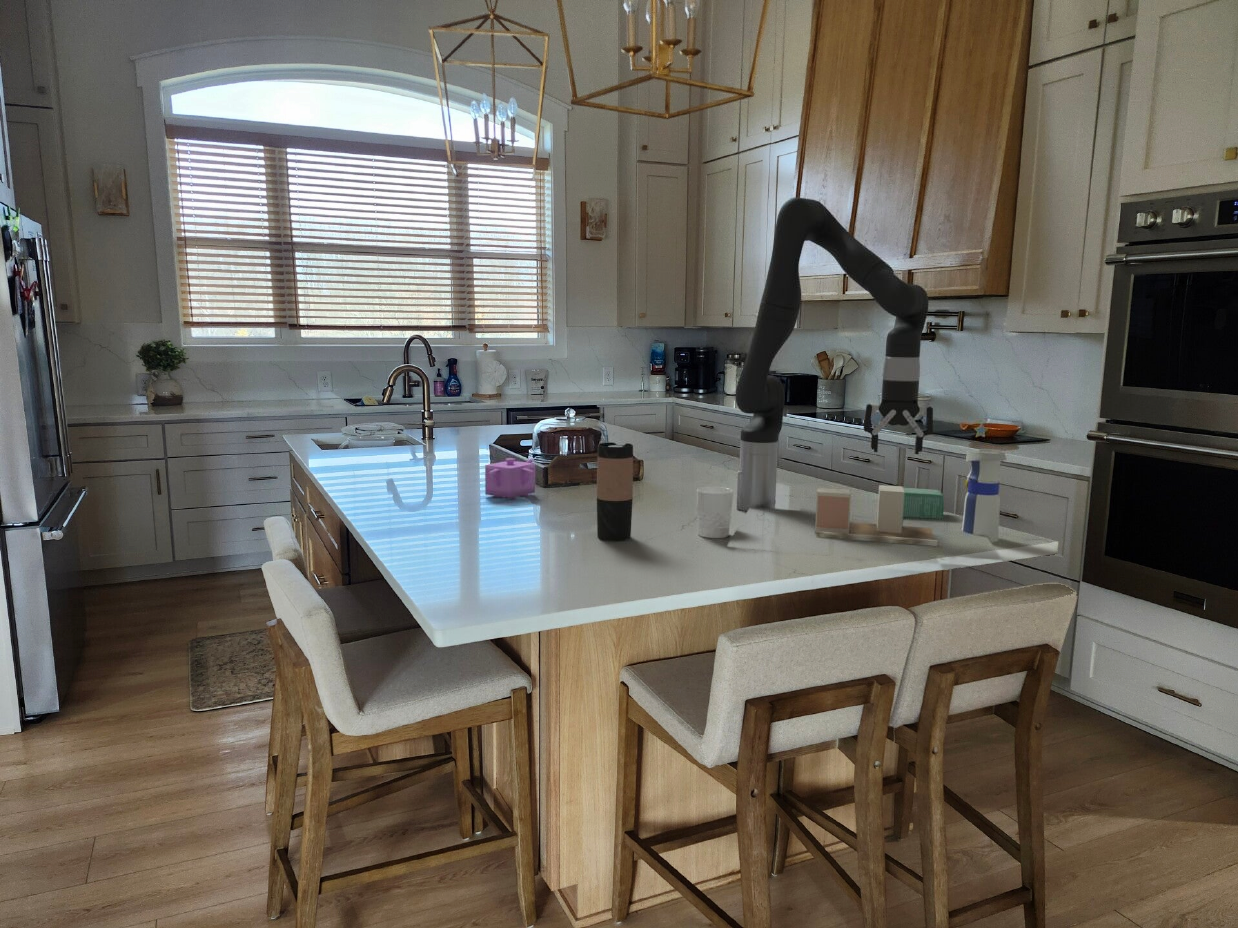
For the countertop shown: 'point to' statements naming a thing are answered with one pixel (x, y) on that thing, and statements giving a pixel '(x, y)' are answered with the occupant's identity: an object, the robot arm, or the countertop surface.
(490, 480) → the teapot
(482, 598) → the countertop surface
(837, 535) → the board
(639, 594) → the countertop surface
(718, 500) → the white cup
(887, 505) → the carton
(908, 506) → the box
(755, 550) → the countertop surface
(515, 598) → the countertop surface
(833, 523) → the faced carton
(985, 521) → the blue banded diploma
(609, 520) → the travel mug
